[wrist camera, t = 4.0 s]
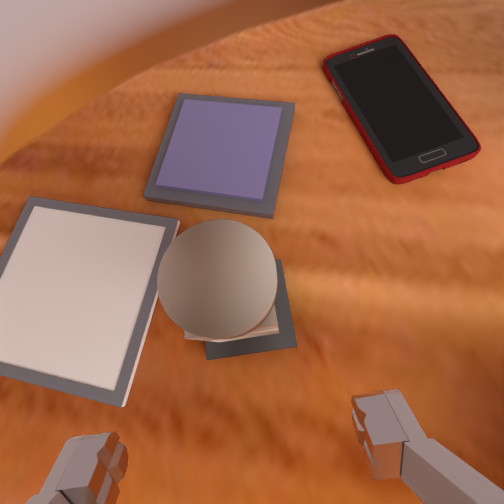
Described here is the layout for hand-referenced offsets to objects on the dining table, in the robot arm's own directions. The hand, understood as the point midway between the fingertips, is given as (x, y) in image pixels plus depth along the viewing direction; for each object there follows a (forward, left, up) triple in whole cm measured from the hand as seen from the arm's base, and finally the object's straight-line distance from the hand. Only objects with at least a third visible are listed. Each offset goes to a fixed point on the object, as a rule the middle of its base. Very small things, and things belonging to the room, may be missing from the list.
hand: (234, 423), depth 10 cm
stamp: (+2, -5, -10) cm, 12 cm away
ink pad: (+7, -18, -10) cm, 22 cm away
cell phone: (-7, -25, -11) cm, 28 cm away
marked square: (+16, -4, -10) cm, 19 cm away
